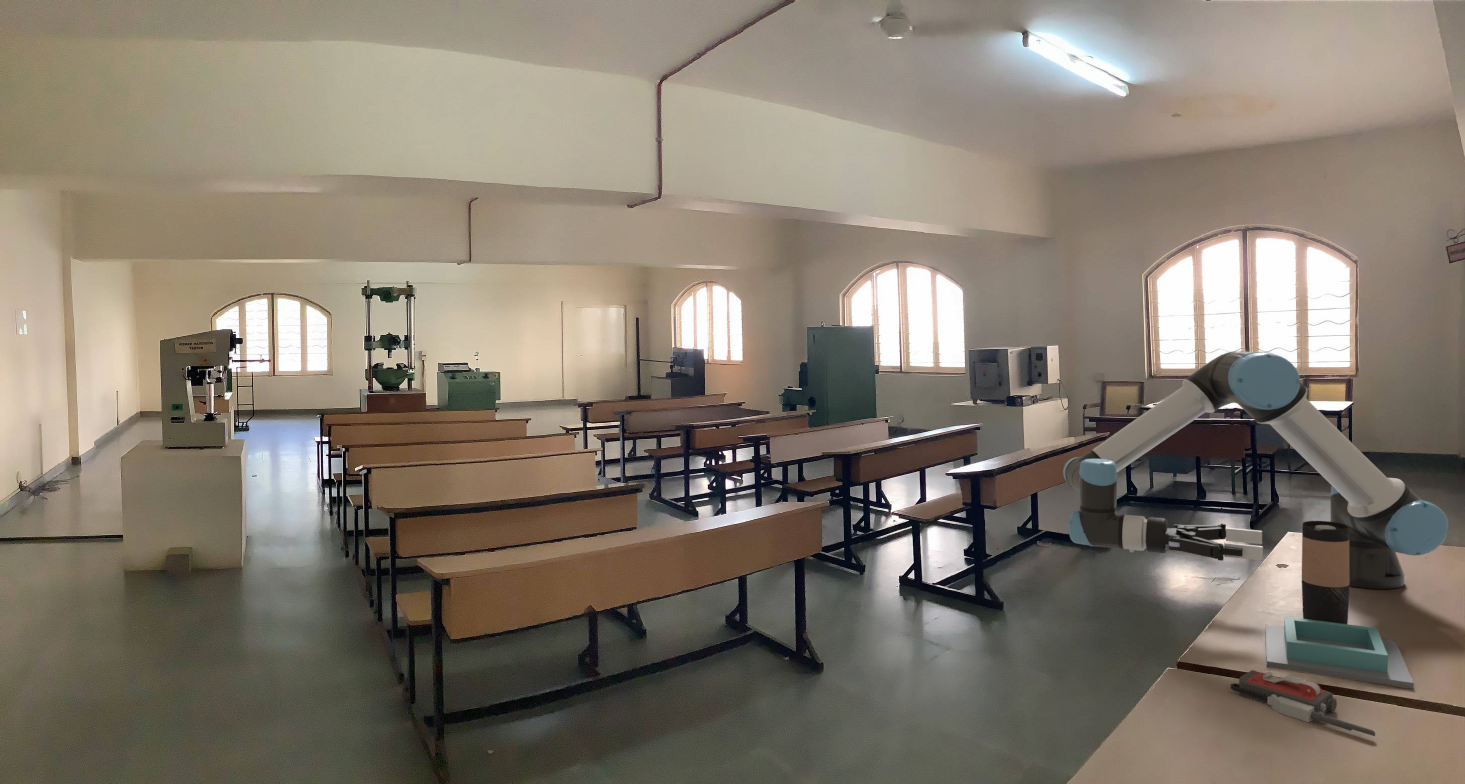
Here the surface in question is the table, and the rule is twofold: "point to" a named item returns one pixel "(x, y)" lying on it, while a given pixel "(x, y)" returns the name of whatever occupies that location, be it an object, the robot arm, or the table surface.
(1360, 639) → the mug dock
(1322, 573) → the travel mug
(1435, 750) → the table surface
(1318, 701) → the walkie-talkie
